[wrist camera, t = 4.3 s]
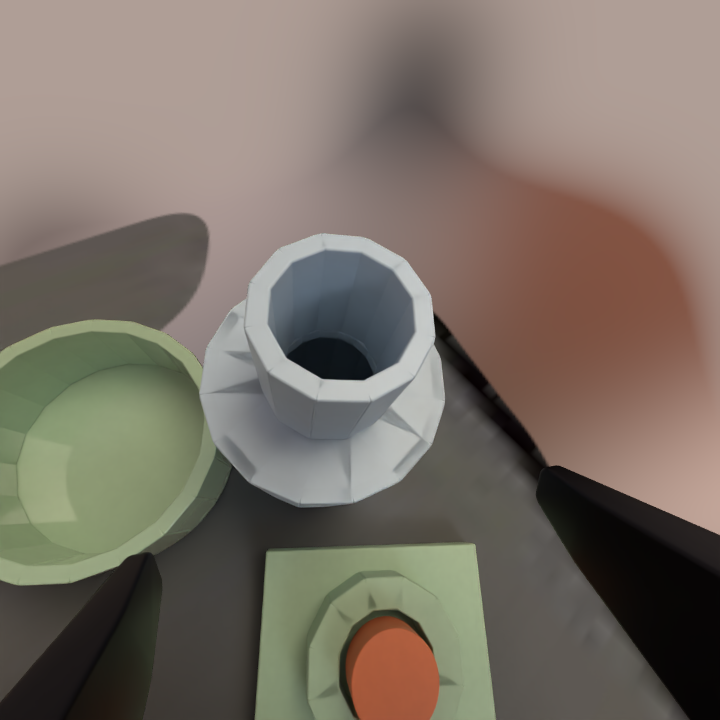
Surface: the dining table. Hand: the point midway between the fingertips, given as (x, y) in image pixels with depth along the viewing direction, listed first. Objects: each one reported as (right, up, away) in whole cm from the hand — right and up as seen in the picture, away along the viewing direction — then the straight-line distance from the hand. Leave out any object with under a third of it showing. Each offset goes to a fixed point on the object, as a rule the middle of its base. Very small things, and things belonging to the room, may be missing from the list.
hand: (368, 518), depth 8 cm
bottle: (-3, -1, +12) cm, 12 cm away
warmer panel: (0, -9, +9) cm, 13 cm away
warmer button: (+1, -8, +6) cm, 11 cm away
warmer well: (-12, -1, +10) cm, 15 cm away
